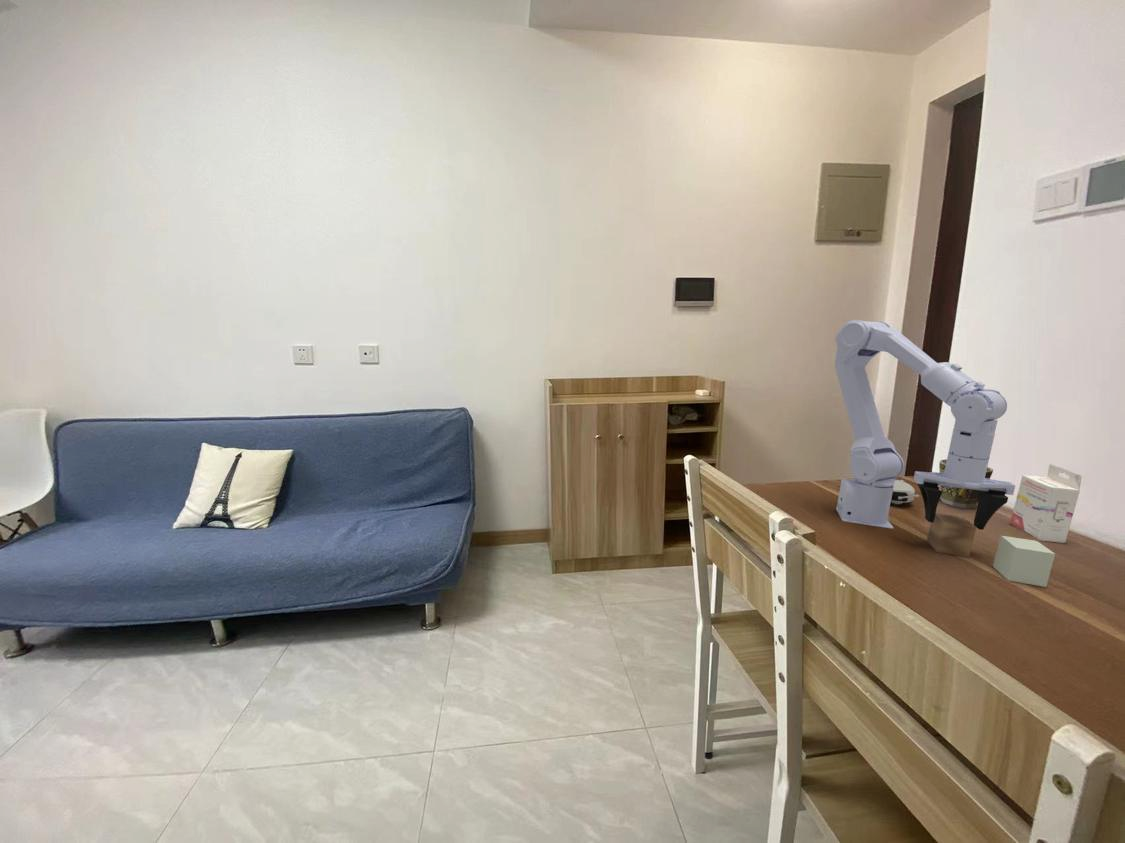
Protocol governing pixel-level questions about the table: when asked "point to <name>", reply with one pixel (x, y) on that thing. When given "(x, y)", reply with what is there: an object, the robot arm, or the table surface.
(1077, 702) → the table surface
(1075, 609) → the table surface
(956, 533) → the walnut block
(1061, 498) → the ink cartridge box
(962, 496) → the ceramic cup
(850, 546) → the table surface
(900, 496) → the robot toy
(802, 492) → the table surface
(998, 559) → the sage block
